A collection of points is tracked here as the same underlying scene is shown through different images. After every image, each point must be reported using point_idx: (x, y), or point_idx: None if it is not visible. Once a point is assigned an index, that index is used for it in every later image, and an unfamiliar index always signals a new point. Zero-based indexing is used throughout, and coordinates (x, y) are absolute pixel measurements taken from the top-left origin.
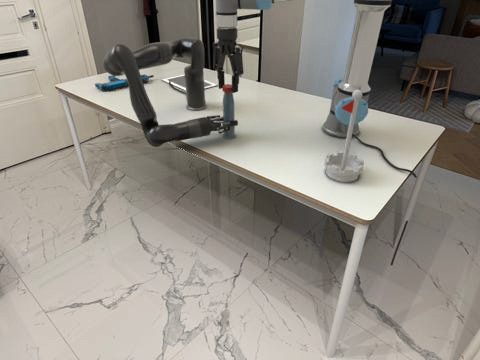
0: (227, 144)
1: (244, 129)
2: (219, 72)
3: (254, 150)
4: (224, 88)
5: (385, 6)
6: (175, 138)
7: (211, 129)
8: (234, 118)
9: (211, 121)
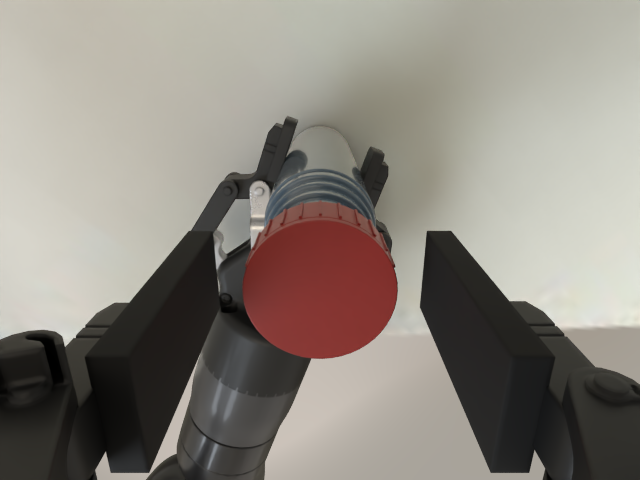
0: None
1: (323, 17)
2: (144, 468)
3: (532, 189)
4: (326, 351)
5: None
6: (264, 471)
7: None
8: (352, 157)
9: None
